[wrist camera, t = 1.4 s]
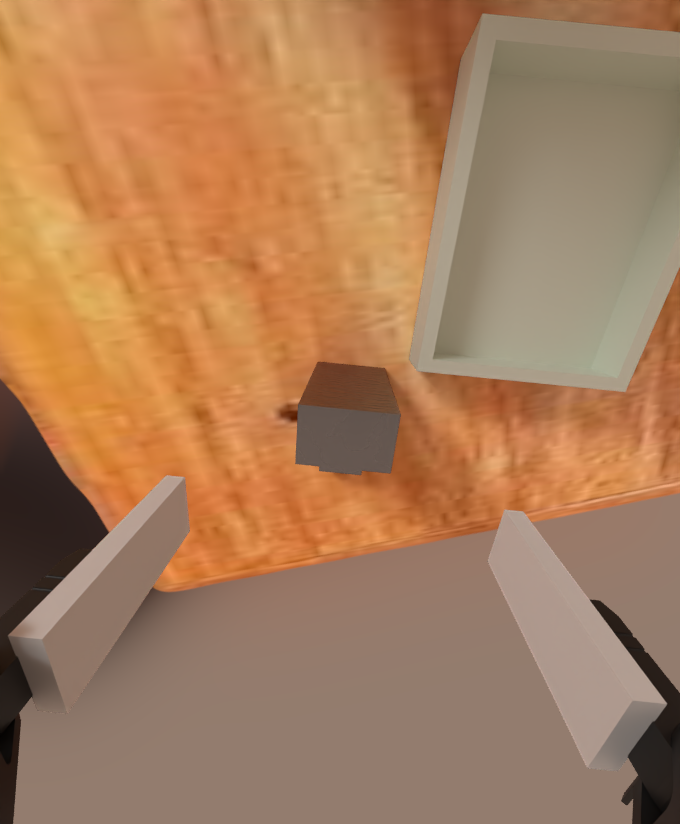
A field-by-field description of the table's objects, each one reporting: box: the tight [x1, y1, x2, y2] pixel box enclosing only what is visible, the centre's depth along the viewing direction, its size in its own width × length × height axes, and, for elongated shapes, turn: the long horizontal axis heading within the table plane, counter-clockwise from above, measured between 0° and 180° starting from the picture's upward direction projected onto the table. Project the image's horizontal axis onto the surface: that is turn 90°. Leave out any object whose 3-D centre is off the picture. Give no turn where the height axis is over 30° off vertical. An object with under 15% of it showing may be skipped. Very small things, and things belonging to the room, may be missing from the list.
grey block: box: [295, 362, 401, 475], centre depth 26 cm, size 10×6×11 cm, turn 175°
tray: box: [409, 13, 680, 392], centre depth 23 cm, size 20×16×4 cm
